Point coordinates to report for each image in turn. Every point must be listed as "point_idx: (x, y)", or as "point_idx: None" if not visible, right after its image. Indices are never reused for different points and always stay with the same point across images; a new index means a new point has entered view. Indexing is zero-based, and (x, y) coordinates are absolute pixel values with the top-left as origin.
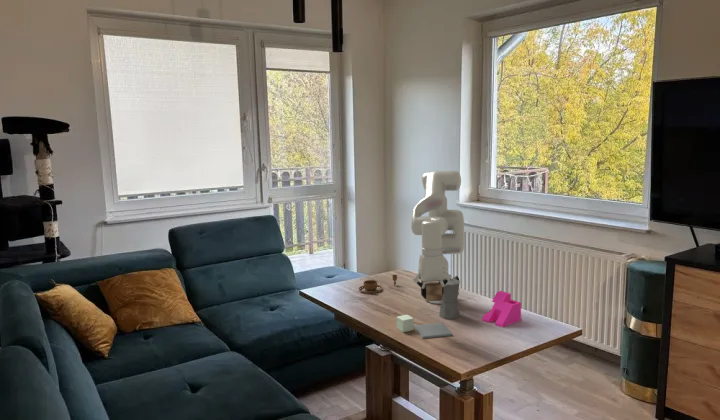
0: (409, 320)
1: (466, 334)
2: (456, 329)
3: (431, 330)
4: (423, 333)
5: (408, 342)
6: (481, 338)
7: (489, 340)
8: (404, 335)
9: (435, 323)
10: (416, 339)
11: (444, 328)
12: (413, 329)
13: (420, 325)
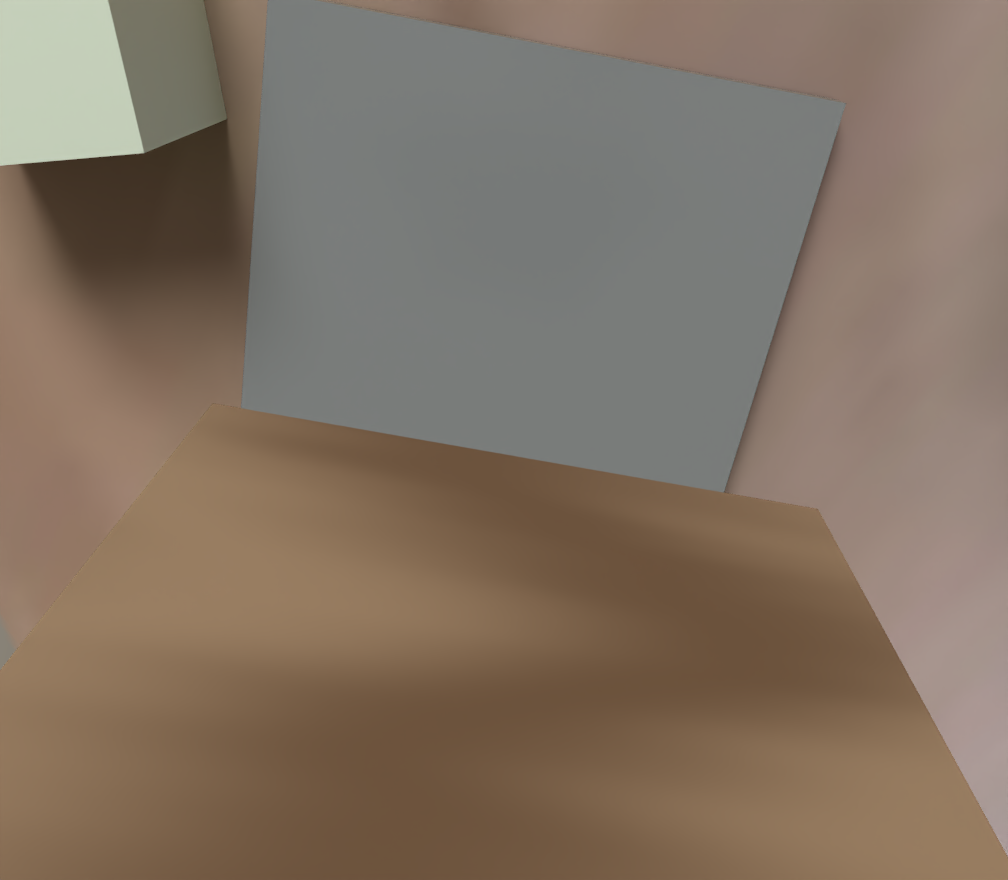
0: (54, 159)
1: (890, 607)
2: (894, 401)
3: (465, 357)
4: (292, 410)
5: (12, 519)
6: (964, 769)
7: (1000, 841)
8: (9, 273)
9: (696, 90)
10: (150, 478)
11: (704, 374)
12: (218, 120)
13: (381, 60)
